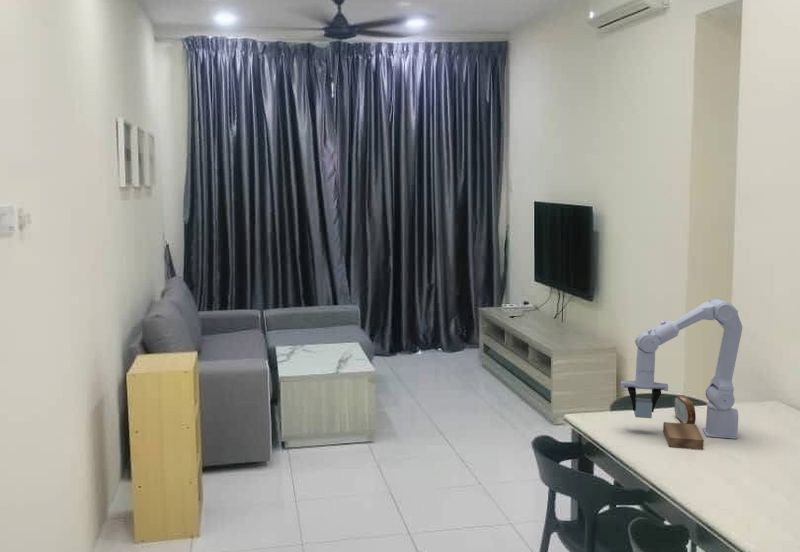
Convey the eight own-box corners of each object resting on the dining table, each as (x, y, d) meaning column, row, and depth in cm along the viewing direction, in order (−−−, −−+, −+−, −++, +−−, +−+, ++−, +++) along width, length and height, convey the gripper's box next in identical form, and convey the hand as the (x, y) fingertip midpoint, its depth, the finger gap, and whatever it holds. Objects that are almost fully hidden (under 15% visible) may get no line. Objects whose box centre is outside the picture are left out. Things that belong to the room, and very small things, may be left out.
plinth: (695, 433, 263) (695, 424, 263) (703, 449, 248) (703, 440, 247) (663, 430, 265) (663, 422, 265) (668, 446, 250) (669, 437, 249)
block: (650, 413, 265) (650, 399, 264) (651, 418, 260) (652, 403, 260) (634, 412, 266) (635, 398, 265) (635, 417, 261) (636, 402, 261)
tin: (695, 429, 268) (697, 404, 267) (686, 429, 268) (687, 404, 267) (681, 415, 283) (682, 392, 282) (672, 415, 283) (673, 392, 282)
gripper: (667, 368, 264) (664, 408, 265) (621, 365, 267) (619, 405, 268) (669, 373, 257) (667, 414, 259) (622, 370, 260) (620, 411, 261)
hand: (643, 410), depth 263 cm, fingers closed on block, 5 cm apart
